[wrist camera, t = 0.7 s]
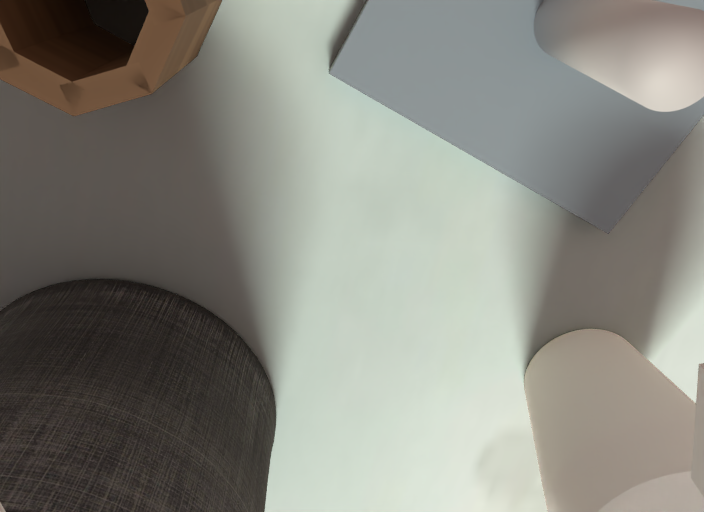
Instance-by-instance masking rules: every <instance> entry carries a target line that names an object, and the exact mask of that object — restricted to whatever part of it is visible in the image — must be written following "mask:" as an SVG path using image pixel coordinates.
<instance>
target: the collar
mask: <svg viewBox="0 0 704 512" xmlns="http://www.w3.org/2000/svg"><path fill="white" fill-rule="evenodd" d="M145 2H146V5H147V8H148V10H149V12H148V15H147V17H146V19H145V22H144V24H143V27H142V29H141V32H140V34H139V36H138V39H137V41H136V44H135V46H134V45H132V44H130V43H128V42H126V41H125V40H123V39H121V38H119V37H117V36H115V35H114V34H112V33H110V32H108V31H106V30H104V29H102V28H101V27H99V26H97V25H95V24H94V22H93V20H92V18H91V15H90V13H89V10H88V8H87V6H86V3H85V1H84V0H0V79H1V80H3V81H5V82H7V83H9V84H11V85H13V86H15V87H17V88H19V89H21V90H23V91H25V92H27V93H29V94H31V95H33V96H34V97H36V98H38V99H40V100H42V101H44V102H46V103H48V104H50V105H52V106H54V107H56V108H58V109H60V110H62V111H64V112H66V113H68V114H70V115H72V116H77V115H80V114H84V113H87V112H91V111H94V110H98V109H101V108H105V107H108V106H112V105H115V104H118V103H122V102H125V101H129V100H132V99H136V98H139V97H143V96H146V95H150V94H152V93H154V92H155V91H156V90H157V89H158V88H160V87H161V86H162V85H163V84H164V83H166V82H167V81H168V80H169V79H170V78H172V77H173V76H174V75H175V74H176V73H178V72H179V71H180V70H181V69H182V68H184V67H185V66H186V65H187V64H188V63H190V62H191V61H192V60H193V59H194V58H196V57H197V55H198V53H199V50H200V48H201V46H202V44H203V42H204V39H205V37H206V35H207V33H208V31H209V28H210V26H211V24H212V22H213V20H214V17H215V15H216V13H217V11H218V9H219V6H220V4H221V2H222V0H145Z"/></svg>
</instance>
